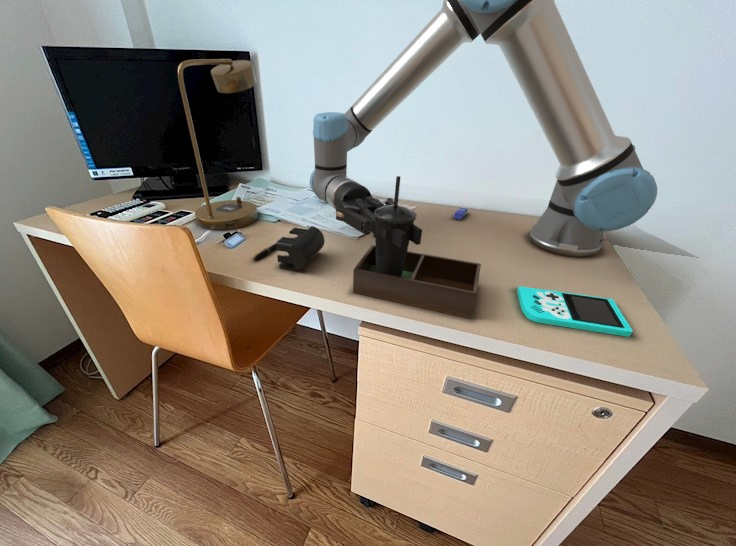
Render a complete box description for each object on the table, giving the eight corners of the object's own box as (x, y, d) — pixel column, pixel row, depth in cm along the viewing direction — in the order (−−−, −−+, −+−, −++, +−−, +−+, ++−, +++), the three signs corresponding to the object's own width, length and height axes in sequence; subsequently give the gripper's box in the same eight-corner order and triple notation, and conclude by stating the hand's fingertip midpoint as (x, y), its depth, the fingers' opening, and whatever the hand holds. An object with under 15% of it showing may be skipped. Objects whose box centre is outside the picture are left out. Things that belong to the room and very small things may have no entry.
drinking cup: (407, 291, 65) (421, 184, 54) (367, 287, 66) (373, 182, 55) (408, 271, 71) (421, 171, 60) (371, 267, 73) (377, 169, 61)
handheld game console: (516, 290, 67) (518, 284, 67) (610, 303, 64) (613, 297, 63) (523, 320, 60) (526, 314, 59) (631, 337, 56) (635, 331, 55)
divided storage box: (370, 266, 76) (372, 244, 73) (475, 287, 69) (481, 263, 66) (352, 292, 67) (353, 269, 64) (469, 318, 60) (476, 293, 57)
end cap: (306, 275, 73) (305, 245, 69) (277, 269, 75) (274, 240, 71) (325, 254, 81) (324, 227, 77) (298, 249, 83) (296, 223, 79)
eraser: (467, 214, 101) (468, 207, 100) (460, 220, 97) (461, 213, 96) (460, 212, 102) (461, 206, 101) (453, 218, 98) (454, 212, 97)
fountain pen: (289, 238, 88) (288, 233, 88) (292, 239, 88) (292, 234, 87) (251, 261, 78) (250, 255, 77) (255, 262, 78) (254, 257, 77)
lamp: (285, 202, 111) (272, 58, 89) (233, 234, 91) (200, 57, 69) (241, 196, 117) (219, 59, 95) (183, 224, 96) (138, 58, 75)
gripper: (378, 209, 81) (444, 250, 63) (316, 220, 75) (370, 268, 58) (380, 176, 77) (452, 210, 59) (315, 185, 71) (372, 226, 54)
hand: (411, 239), depth 59 cm, fingers closed on drinking cup, 3 cm apart
